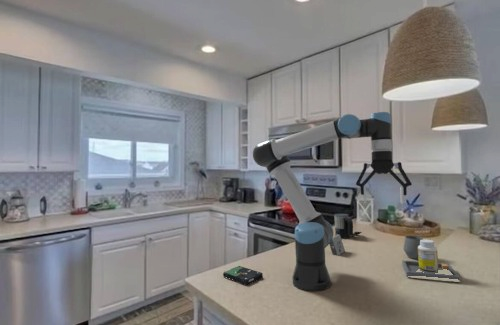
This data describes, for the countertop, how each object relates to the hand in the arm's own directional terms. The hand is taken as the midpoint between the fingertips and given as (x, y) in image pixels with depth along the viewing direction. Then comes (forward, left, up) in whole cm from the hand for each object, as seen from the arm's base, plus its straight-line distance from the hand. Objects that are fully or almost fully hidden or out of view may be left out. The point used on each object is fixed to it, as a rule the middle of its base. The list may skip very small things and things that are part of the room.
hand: (383, 203), depth 113 cm
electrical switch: (-22, +33, -31) cm, 51 cm away
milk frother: (-19, +72, -31) cm, 80 cm away
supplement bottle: (+17, +13, -30) cm, 37 cm away
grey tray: (+17, +13, -31) cm, 38 cm away
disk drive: (-58, -13, -32) cm, 67 cm away
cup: (+15, +35, -31) cm, 50 cm away
